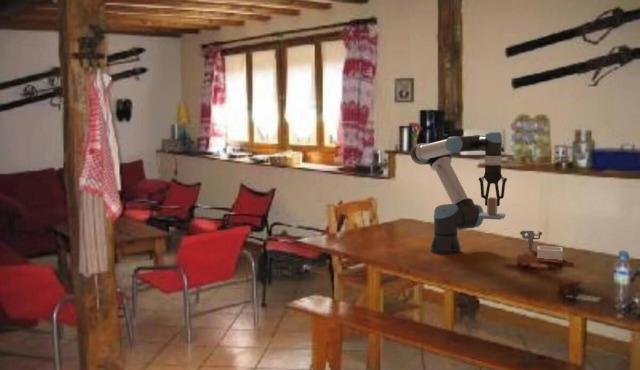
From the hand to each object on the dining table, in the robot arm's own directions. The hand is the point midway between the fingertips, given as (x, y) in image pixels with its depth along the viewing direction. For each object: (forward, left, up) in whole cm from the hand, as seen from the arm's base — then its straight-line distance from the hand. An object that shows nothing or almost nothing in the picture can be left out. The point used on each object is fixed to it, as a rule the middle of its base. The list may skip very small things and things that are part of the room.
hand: (492, 212), depth 311 cm
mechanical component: (+17, +18, -22) cm, 33 cm away
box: (+27, -1, -22) cm, 35 cm away
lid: (0, 0, -2) cm, 2 cm away
